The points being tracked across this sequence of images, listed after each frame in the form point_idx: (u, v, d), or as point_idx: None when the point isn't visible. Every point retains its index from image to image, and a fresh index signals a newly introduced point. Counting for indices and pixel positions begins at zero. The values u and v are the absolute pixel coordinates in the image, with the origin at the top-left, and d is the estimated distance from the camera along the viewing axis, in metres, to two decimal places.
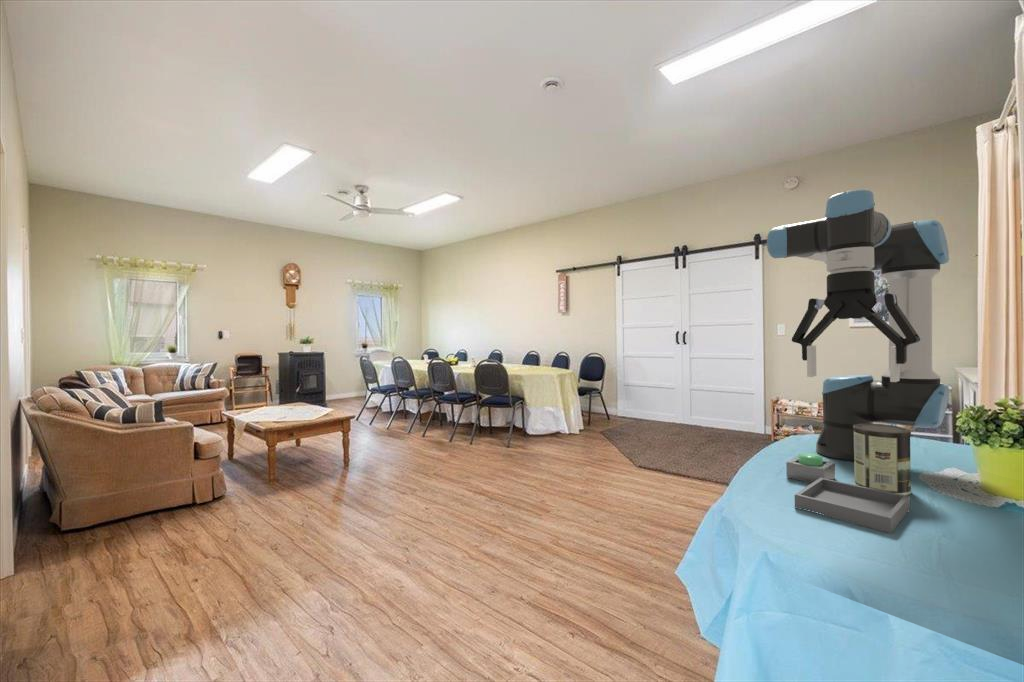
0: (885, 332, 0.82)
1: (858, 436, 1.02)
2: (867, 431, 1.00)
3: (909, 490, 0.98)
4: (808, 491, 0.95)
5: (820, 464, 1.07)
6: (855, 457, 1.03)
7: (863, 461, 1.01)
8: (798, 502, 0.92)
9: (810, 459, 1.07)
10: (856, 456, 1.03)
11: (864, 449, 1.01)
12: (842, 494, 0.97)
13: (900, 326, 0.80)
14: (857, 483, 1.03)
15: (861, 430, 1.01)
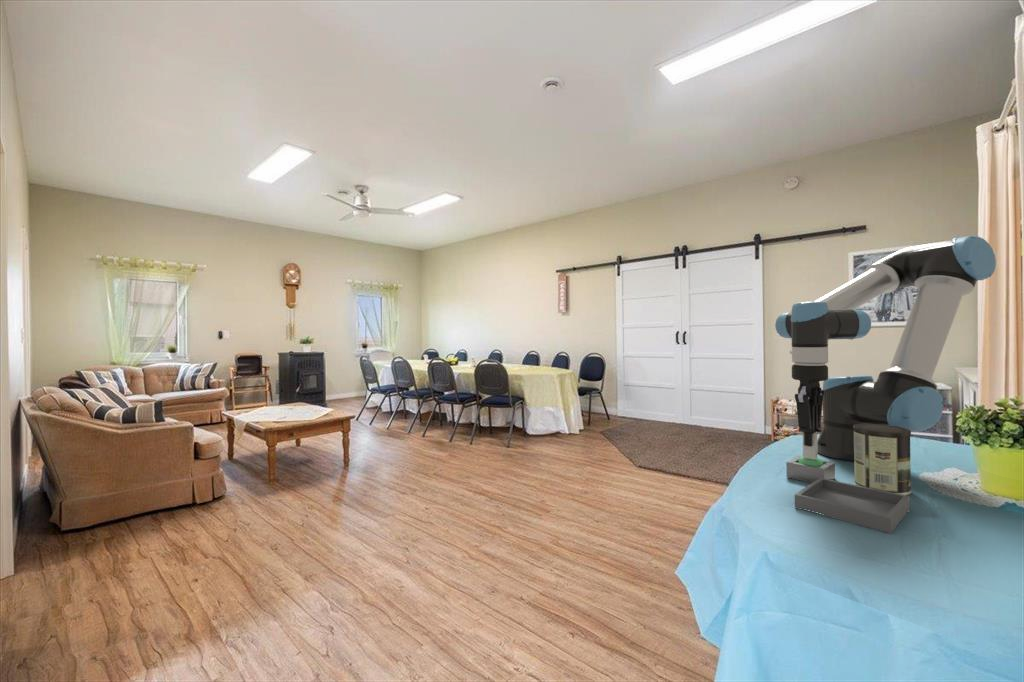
0: None
1: (858, 435, 1.02)
2: (867, 431, 1.00)
3: (909, 490, 0.98)
4: (808, 491, 0.95)
5: None
6: (855, 457, 1.03)
7: (863, 461, 1.01)
8: (798, 502, 0.92)
9: (810, 462, 1.07)
10: (856, 456, 1.03)
11: (864, 449, 1.01)
12: (842, 494, 0.97)
13: None
14: (857, 483, 1.03)
15: (861, 430, 1.01)
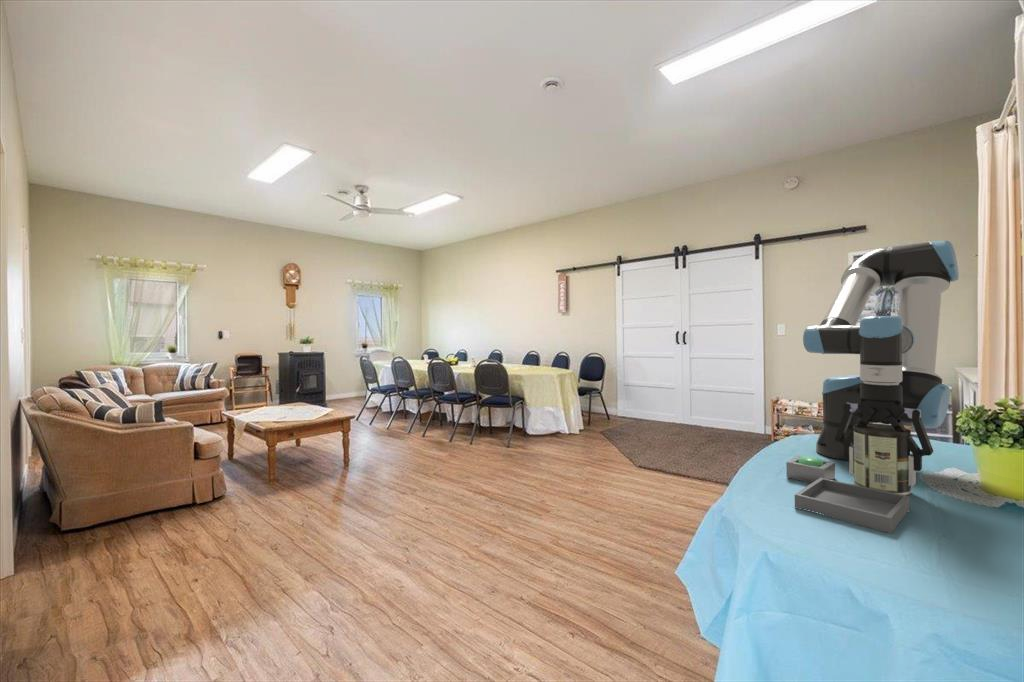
0: None
1: (858, 435, 1.02)
2: (867, 431, 1.00)
3: (909, 490, 0.98)
4: (808, 491, 0.95)
5: None
6: (855, 457, 1.03)
7: (863, 461, 1.01)
8: (798, 502, 0.92)
9: (810, 462, 1.07)
10: (856, 456, 1.03)
11: (863, 449, 1.01)
12: (842, 494, 0.97)
13: (920, 439, 0.95)
14: (857, 483, 1.03)
15: (861, 430, 1.01)
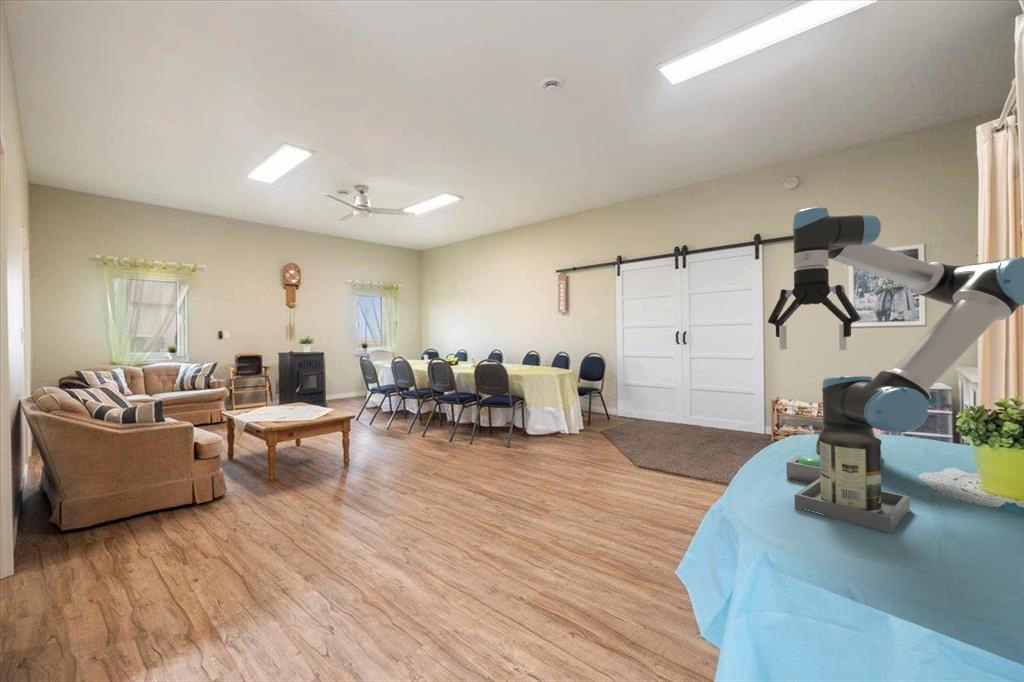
0: (836, 314, 1.10)
1: (824, 446, 0.91)
2: (833, 441, 0.89)
3: (879, 507, 0.87)
4: (808, 491, 0.95)
5: None
6: (821, 470, 0.93)
7: (829, 474, 0.90)
8: (798, 502, 0.92)
9: (810, 462, 1.07)
10: (822, 469, 0.92)
11: (830, 461, 0.90)
12: None
13: (846, 309, 1.08)
14: (823, 499, 0.92)
15: (827, 440, 0.90)
